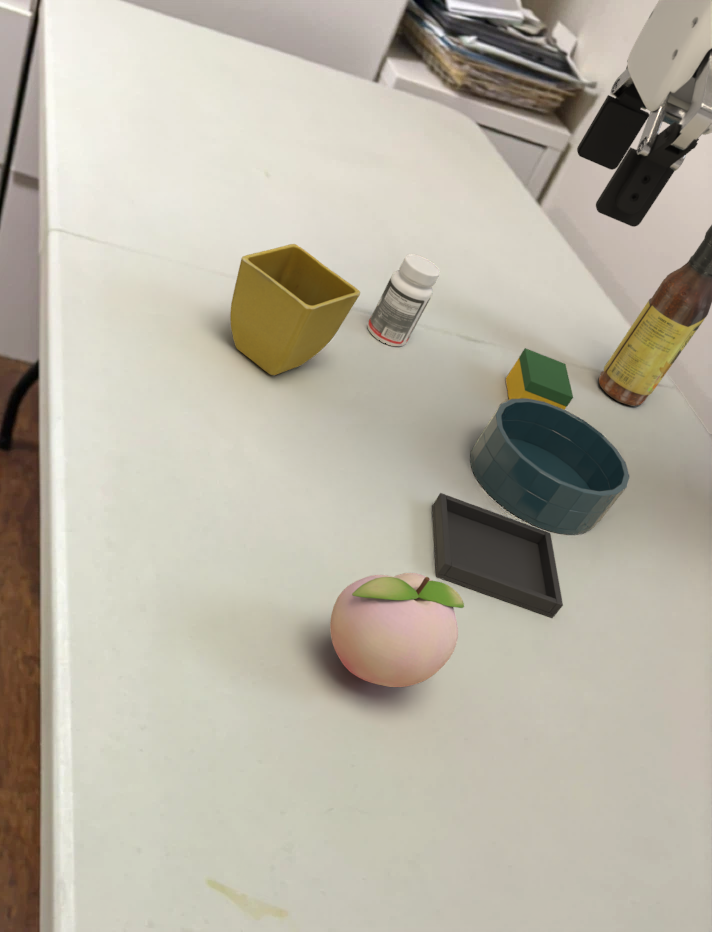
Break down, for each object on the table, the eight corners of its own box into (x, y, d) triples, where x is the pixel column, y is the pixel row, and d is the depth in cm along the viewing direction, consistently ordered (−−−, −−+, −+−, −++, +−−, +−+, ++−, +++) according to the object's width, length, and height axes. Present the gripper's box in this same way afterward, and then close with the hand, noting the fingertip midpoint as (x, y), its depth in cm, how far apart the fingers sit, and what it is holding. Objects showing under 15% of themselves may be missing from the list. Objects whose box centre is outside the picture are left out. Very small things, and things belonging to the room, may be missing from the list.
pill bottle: (382, 318, 121) (418, 248, 115) (413, 343, 120) (451, 273, 114) (358, 325, 118) (393, 254, 112) (389, 351, 117) (427, 280, 111)
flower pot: (207, 340, 106) (240, 254, 99) (261, 323, 111) (295, 241, 105) (272, 393, 104) (310, 309, 97) (324, 373, 109) (363, 292, 103)
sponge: (545, 394, 122) (565, 363, 119) (552, 428, 117) (573, 397, 114) (505, 378, 121) (524, 347, 118) (510, 412, 117) (531, 381, 114)
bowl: (588, 468, 114) (617, 429, 111) (607, 552, 105) (640, 513, 101) (465, 421, 112) (491, 380, 109) (474, 503, 103) (502, 461, 99)
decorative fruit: (340, 725, 78) (406, 630, 71) (291, 640, 82) (348, 542, 75) (440, 711, 82) (511, 620, 75) (388, 631, 86) (451, 537, 79)
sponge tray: (540, 545, 102) (550, 532, 100) (552, 618, 95) (563, 605, 94) (431, 505, 100) (440, 492, 99) (435, 576, 93) (445, 563, 92)
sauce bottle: (648, 414, 127) (768, 257, 113) (602, 399, 126) (717, 238, 112) (633, 383, 132) (747, 228, 117) (588, 368, 130) (698, 209, 116)
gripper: (883, -33, 58) (674, 263, 70) (797, -103, 70) (632, 161, 82) (761, -91, 57) (571, 220, 69) (695, -153, 69) (543, 123, 81)
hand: (604, 188), depth 76 cm, fingers open, 9 cm apart
